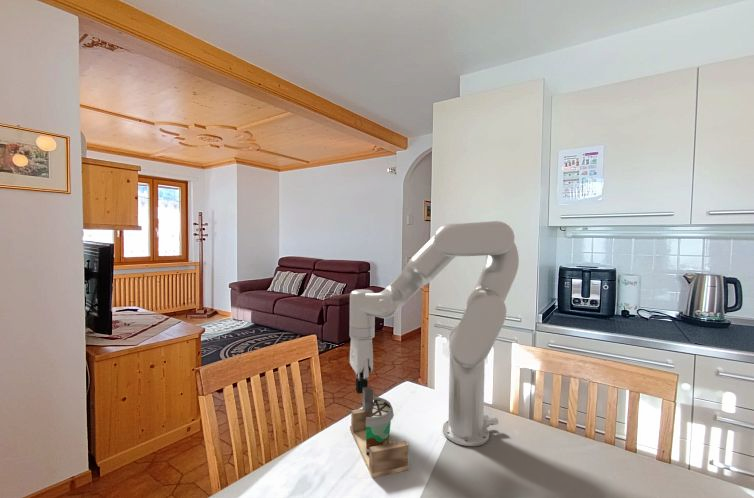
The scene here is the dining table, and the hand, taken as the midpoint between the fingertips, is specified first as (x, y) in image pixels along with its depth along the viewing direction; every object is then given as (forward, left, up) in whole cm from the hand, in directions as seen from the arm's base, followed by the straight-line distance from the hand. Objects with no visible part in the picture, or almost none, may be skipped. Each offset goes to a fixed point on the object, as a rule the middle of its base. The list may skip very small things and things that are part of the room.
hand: (361, 391), depth 104 cm
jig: (0, +15, -9) cm, 17 cm away
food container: (-1, +15, -8) cm, 17 cm away
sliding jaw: (0, +7, -7) cm, 10 cm away
